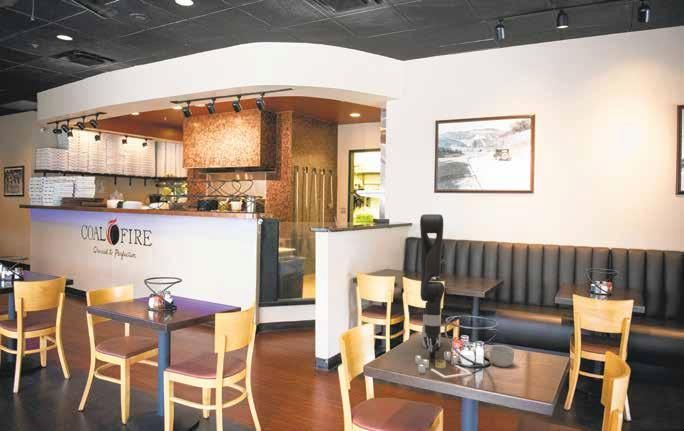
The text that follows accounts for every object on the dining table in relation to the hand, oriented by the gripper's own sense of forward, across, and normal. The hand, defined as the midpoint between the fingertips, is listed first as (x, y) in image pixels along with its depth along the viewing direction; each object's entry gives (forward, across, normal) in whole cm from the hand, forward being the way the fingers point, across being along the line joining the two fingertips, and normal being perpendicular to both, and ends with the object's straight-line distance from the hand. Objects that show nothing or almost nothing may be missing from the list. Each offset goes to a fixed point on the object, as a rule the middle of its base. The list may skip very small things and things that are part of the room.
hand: (432, 359), depth 231 cm
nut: (+2, -7, 0) cm, 7 cm away
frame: (+1, -15, 0) cm, 15 cm away
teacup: (+2, -15, -27) cm, 31 cm away
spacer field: (+1, -7, 0) cm, 7 cm away
